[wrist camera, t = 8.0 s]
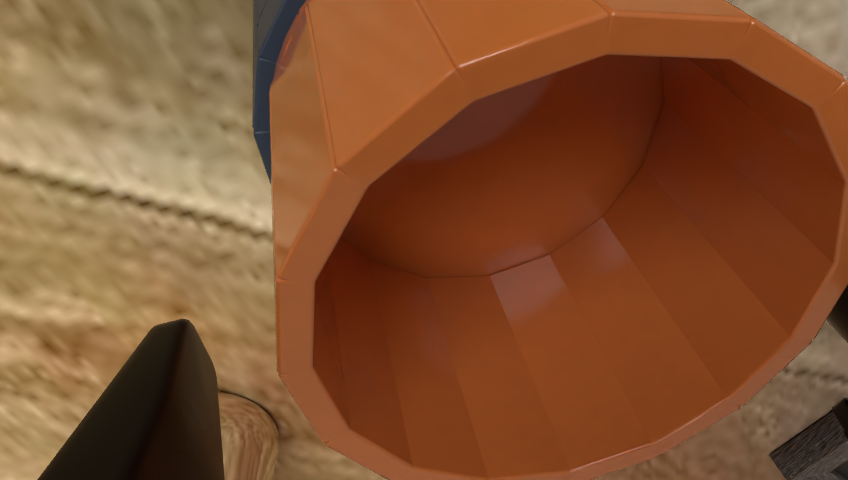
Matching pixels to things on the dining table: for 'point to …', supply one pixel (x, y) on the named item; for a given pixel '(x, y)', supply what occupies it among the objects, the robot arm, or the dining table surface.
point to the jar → (268, 62)
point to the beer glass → (247, 439)
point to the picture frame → (815, 453)
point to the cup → (546, 227)
